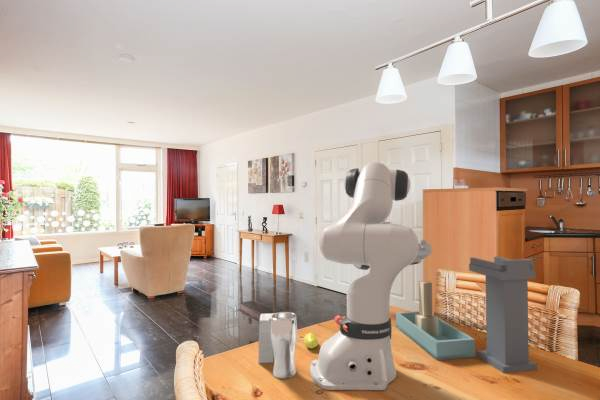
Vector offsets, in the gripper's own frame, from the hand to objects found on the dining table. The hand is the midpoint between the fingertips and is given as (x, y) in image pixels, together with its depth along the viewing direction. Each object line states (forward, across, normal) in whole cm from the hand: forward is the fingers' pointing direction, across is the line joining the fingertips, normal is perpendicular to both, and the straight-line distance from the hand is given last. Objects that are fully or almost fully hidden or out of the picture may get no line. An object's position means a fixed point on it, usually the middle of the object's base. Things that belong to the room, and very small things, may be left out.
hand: (413, 241), depth 123 cm
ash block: (-2, -1, +23) cm, 23 cm away
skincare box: (-1, -54, +36) cm, 65 cm away
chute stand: (+10, +11, +41) cm, 43 cm away
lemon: (-6, -40, +33) cm, 52 cm away
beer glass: (+7, -50, +40) cm, 65 cm away
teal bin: (-3, -1, +33) cm, 33 cm away
